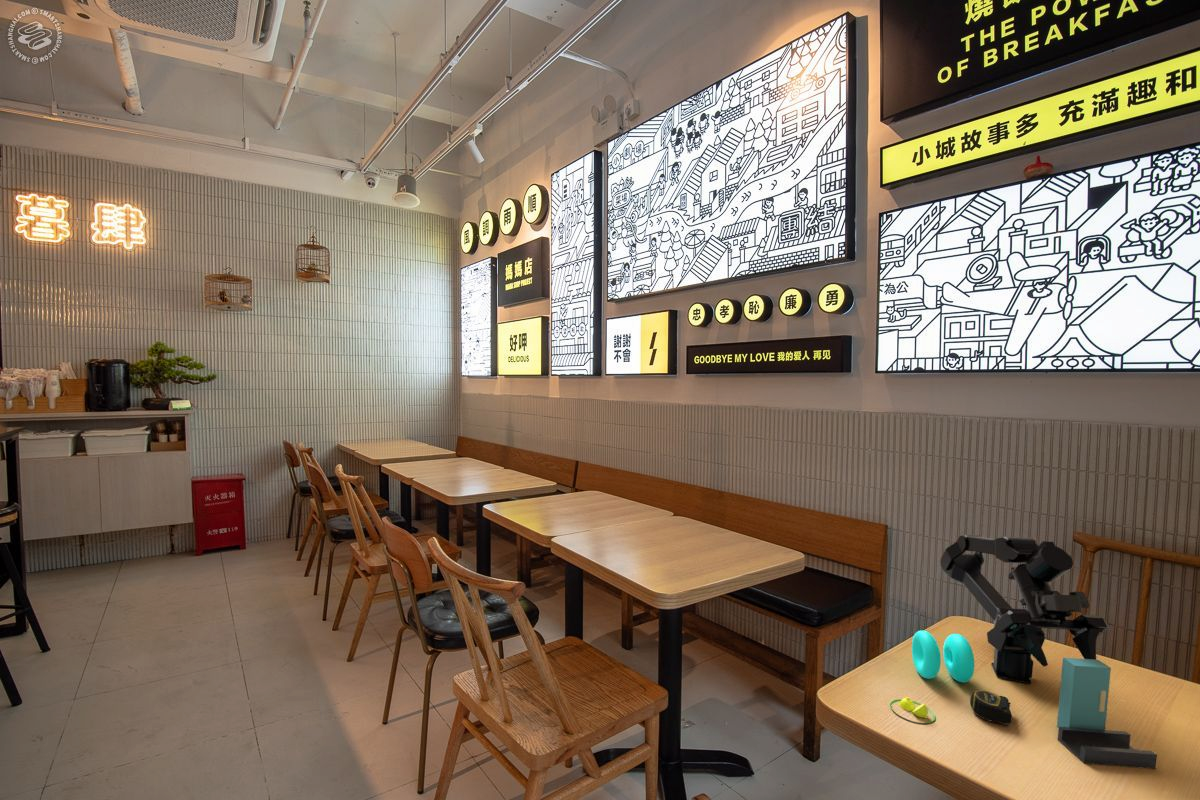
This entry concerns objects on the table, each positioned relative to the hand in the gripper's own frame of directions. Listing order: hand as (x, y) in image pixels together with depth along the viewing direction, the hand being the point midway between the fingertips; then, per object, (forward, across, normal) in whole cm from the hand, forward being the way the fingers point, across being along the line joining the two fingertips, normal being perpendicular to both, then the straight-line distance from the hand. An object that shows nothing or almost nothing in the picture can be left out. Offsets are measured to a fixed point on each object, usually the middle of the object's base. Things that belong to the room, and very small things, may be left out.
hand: (1070, 667), depth 115 cm
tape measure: (+8, -14, +8) cm, 18 cm away
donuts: (-2, -17, +18) cm, 25 cm away
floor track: (+15, 0, +1) cm, 15 cm away
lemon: (+9, -30, +8) cm, 32 cm away
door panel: (+10, 0, +5) cm, 12 cm away
